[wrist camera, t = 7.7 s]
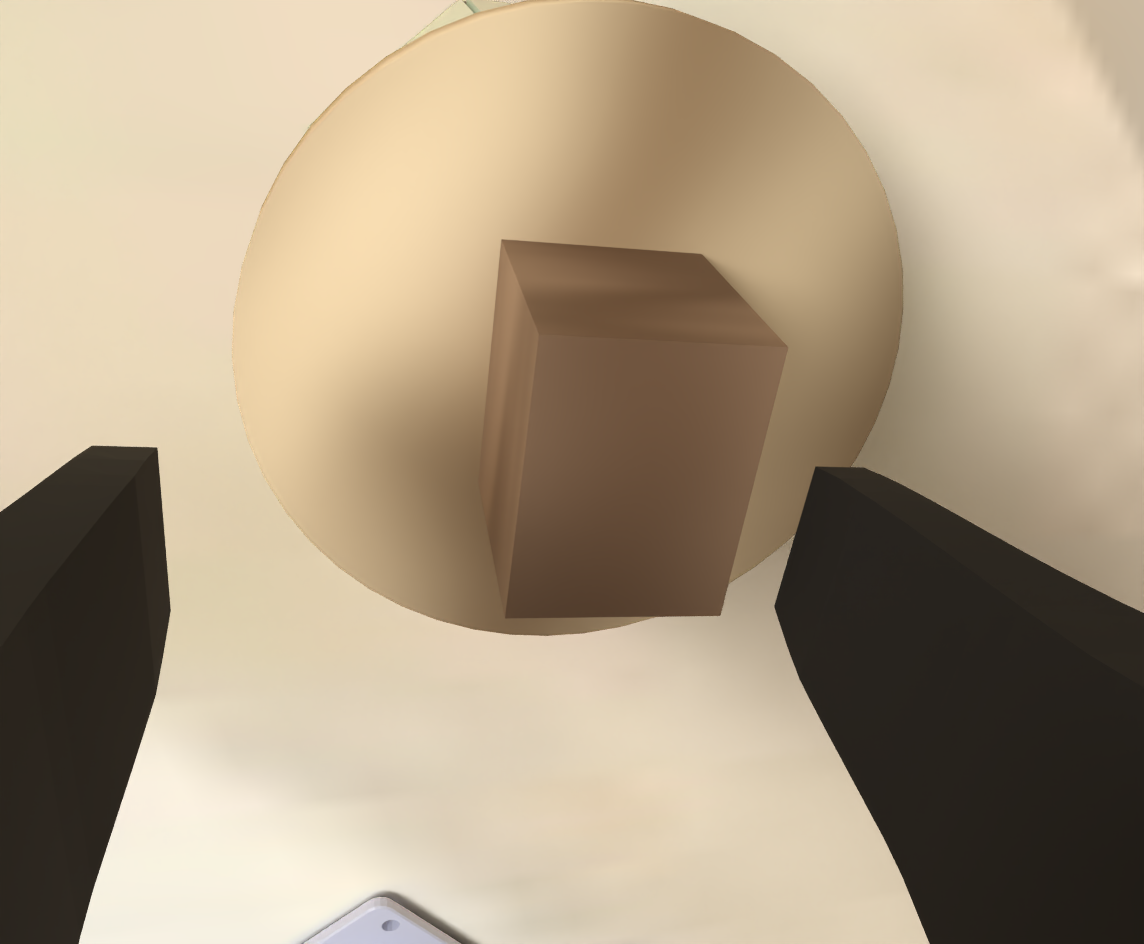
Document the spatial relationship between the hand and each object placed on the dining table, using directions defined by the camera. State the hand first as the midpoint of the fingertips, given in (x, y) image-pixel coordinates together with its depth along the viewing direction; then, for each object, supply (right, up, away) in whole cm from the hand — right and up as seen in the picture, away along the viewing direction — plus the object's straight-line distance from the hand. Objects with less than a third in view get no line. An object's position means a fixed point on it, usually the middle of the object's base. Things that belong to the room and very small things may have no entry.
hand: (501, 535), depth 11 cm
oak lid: (+1, +3, +5) cm, 6 cm away
